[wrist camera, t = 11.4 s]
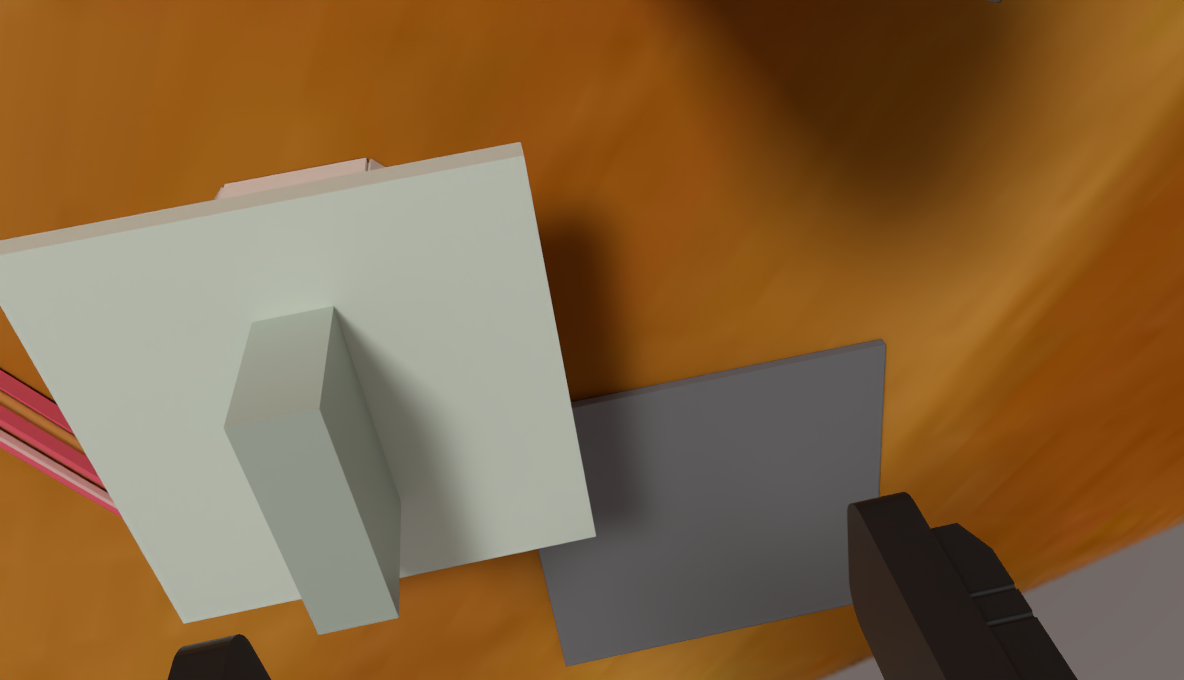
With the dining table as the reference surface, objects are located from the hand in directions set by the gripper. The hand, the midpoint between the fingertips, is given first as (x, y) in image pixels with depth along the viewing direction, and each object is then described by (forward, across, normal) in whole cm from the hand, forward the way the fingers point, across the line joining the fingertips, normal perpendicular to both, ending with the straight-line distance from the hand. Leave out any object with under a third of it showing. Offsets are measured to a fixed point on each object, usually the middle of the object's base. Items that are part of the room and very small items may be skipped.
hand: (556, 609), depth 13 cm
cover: (+17, +7, +8) cm, 20 cm away
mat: (+23, -5, +22) cm, 33 cm away
